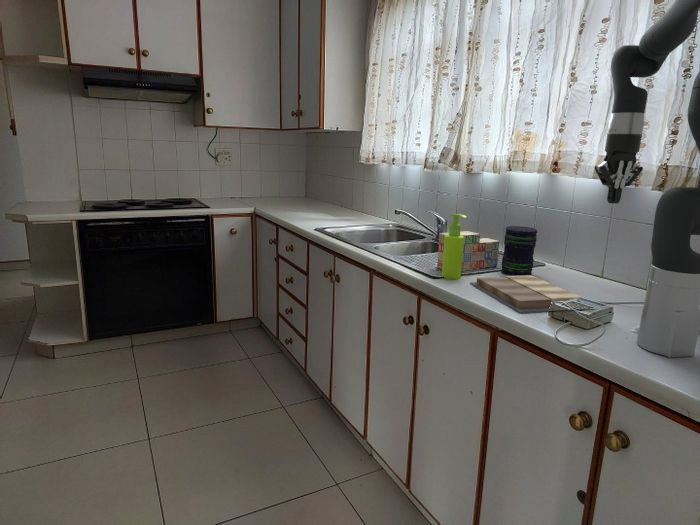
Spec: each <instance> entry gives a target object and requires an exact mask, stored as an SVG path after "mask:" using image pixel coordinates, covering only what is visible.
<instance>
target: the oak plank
mask: <svg viewBox="0 0 700 525" xmlns="http://www.w3.org/2000/svg"><path fill="white" fill-rule="evenodd" d="M504 277H506V278H508V279H510V280H512V281H514V282H516V283H518V284H520V285H522V286H524V287H526V288H528V289H530V290H532V291H534V292H537V293H539V294H541V295H543V296H545V297H547V298H549V299H551V302H553V301H567V300H570V299H573V298H582V299H583V297H582V296H579V295H577V294H575V293H573V292H570V291H568V290H566V289H564V288H561V287H559V286H558V285H554V284H552V283H550V282H548V281H546V280H543V279H541V278H538V277H536V276H534V275H525V276H509V275H505V276H504ZM550 305H551V303H550Z"/></svg>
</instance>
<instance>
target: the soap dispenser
mask: <svg viewBox="0 0 700 525" xmlns="http://www.w3.org/2000/svg"><path fill="white" fill-rule="evenodd" d="M450 217H452V222H451V223H450V224H449V230H448V233H449V234H448V235H445V239H444V251H443V264H442V270H441V278H443V277H444V279H447V280H460V279H461V275H462V271H461V266H462V255H463V244H464V236H461V235H460V232H462V230H461V229H462V225H461V224H460V223H459V220H460V219H467V218H468V216H467V215H466V214H463V213H462V214H461V213H451V214H450Z"/></svg>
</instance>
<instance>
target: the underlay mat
mask: <svg viewBox="0 0 700 525" xmlns="http://www.w3.org/2000/svg"><path fill="white" fill-rule="evenodd" d="M476 283H477V281H472V282H469V285H471V286H473V287H475V288H476V289H478V290H479V291H481V292H483V293H484V294H486V295H488V296H490V297H491V298H493V299H495V300H497V301H498V302H500V303H502V304H503V305H505V306H506V307H508V308H509V309H510V310H513V311H515V312H516V313H518V314H531V313H532V314H534V313H549V312H548V311H549V307H541V308H522V309H519V308H517V307H515V306H513V305H512V304H510V303H508V302H506V301H505V300H503V299H501V298H499V297H498V296H496V295H494V294H492V293H491V292H489V291H487V290H486V289H484V288H482V287H480V286H479V285H477V284H476Z"/></svg>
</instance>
